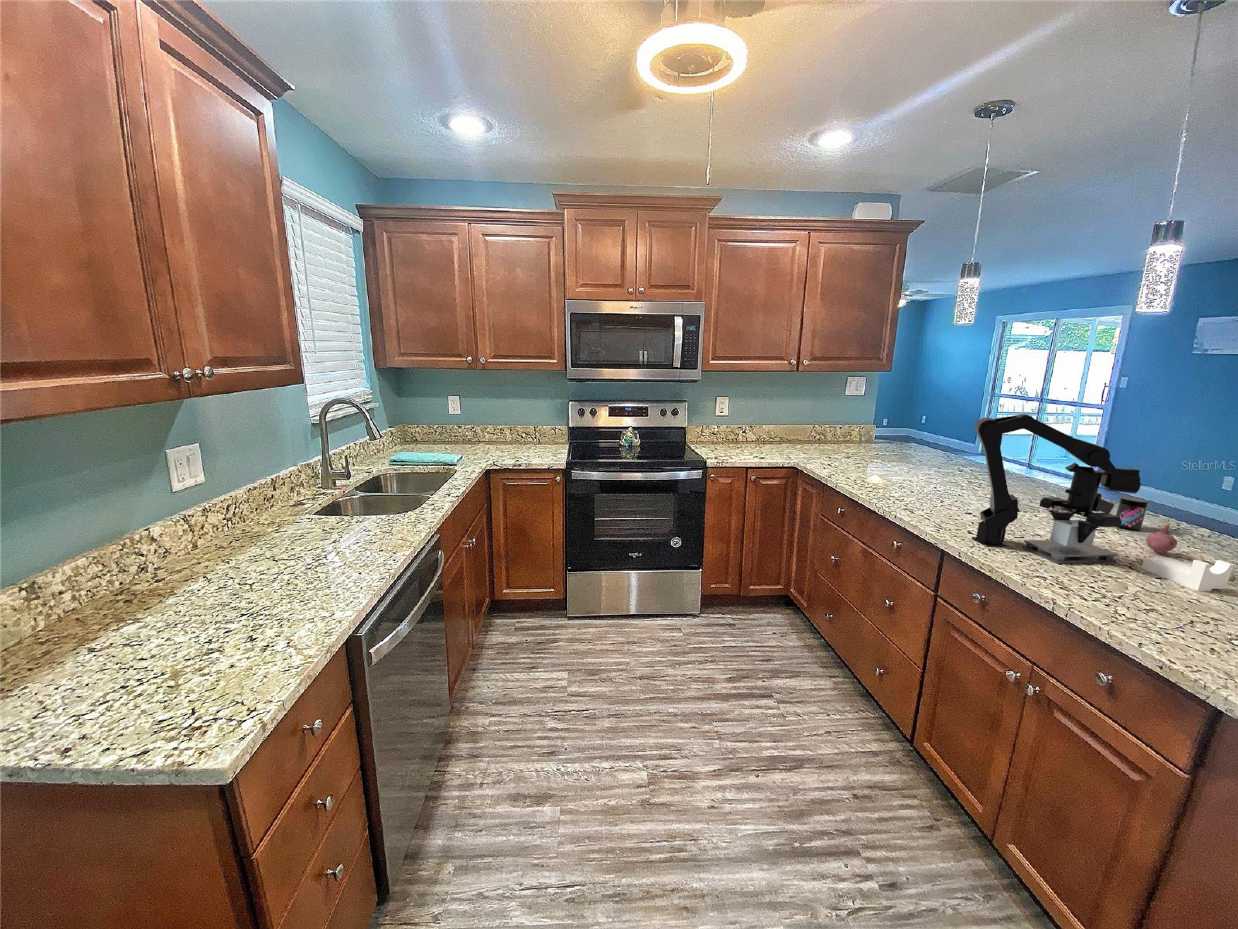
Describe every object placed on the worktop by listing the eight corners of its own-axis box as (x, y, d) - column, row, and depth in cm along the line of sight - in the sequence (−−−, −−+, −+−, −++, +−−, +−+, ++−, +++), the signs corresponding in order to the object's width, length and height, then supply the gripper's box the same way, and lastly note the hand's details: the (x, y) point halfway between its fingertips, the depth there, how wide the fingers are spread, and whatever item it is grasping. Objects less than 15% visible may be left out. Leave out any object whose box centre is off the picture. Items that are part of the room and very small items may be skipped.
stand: (1056, 563, 135) (1058, 555, 135) (1022, 548, 146) (1024, 540, 145) (1115, 562, 136) (1117, 554, 136) (1077, 547, 147) (1079, 539, 146)
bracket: (1224, 592, 121) (1233, 564, 119) (1197, 592, 121) (1206, 564, 119) (1165, 569, 133) (1173, 544, 132) (1141, 569, 133) (1148, 543, 131)
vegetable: (1167, 559, 139) (1177, 527, 137) (1138, 551, 145) (1147, 520, 142) (1176, 556, 142) (1186, 524, 139) (1147, 548, 147) (1156, 517, 145)
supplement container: (1107, 525, 167) (1114, 496, 165) (1122, 524, 168) (1130, 495, 166) (1130, 532, 161) (1138, 502, 158) (1146, 531, 162) (1154, 501, 159)
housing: (1091, 545, 138) (1097, 525, 137) (1066, 546, 137) (1071, 525, 136) (1074, 539, 143) (1079, 519, 141) (1049, 539, 142) (1054, 519, 141)
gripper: (1147, 497, 128) (1131, 552, 131) (1077, 479, 146) (1065, 527, 150) (1108, 497, 127) (1094, 552, 131) (1043, 479, 145) (1032, 527, 149)
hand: (1071, 539), depth 140 cm, fingers closed on housing, 5 cm apart
